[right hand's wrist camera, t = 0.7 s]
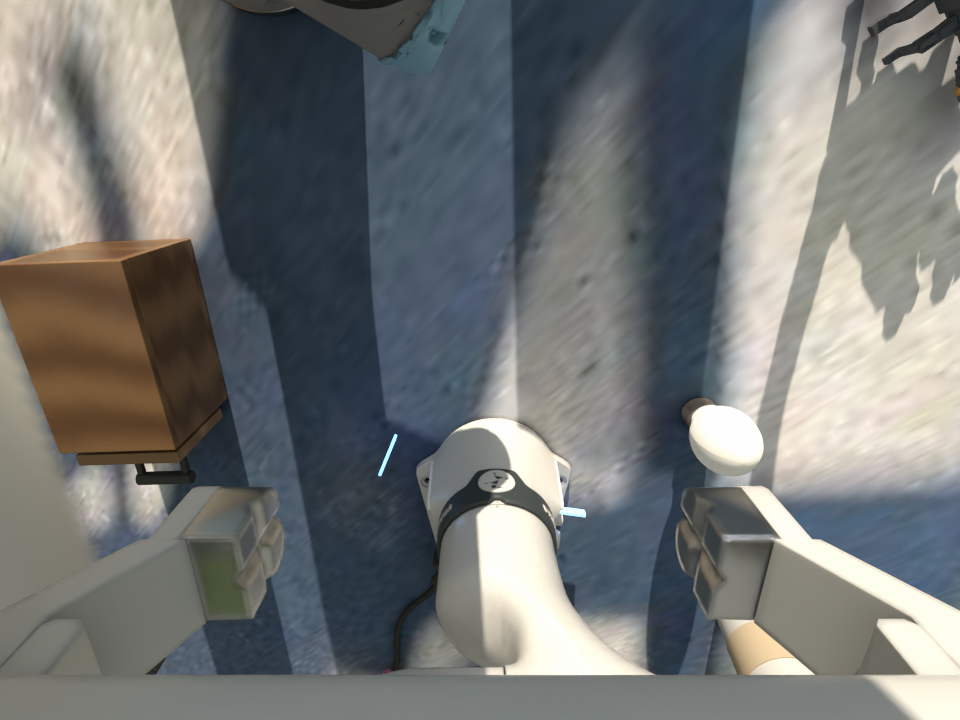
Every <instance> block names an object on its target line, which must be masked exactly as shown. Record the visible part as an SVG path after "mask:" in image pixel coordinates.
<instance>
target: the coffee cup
mask: <svg viewBox="0 0 960 720" xmlns="http://www.w3.org/2000/svg"><path fill="white" fill-rule="evenodd" d="M717 622H718V624H719V627H720V629H721V632H722V634H723V637H724V639H725V641H726V644H727V650H728V652H729V655H730V657H731V660H732V662H733V664H734V667H735V669H736V672H737V674H738V675H815V674H814V673H813V672H811V671H810V670H809V669H808V668H807V667H805V666H804V665H803V664H802V663H801V662H800V661H798V660H797V659H796V658H795V657H794V656H793V655H791V654H790V653H789V652H788V651H787V650H785V649H784V648H783V647H782V646H781V645H780V644H778V643H777V642H776V641H775V640H774V639H773V638H771V637H770V636H769V635H768V634H767V633H766V632H764V631H763V630H762V629H761V628H760V627H758V626H757V625H756V624H755V623H754V620H726V619H717Z"/></svg>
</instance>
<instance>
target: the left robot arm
mask: <svg viewBox="0 0 960 720" xmlns="http://www.w3.org/2000/svg"><path fill="white" fill-rule="evenodd" d="M223 1H225V2H227V3H228V4H230V5H232V6H234V7H236V8H238V9H240V10H243V11H246V12H249V13H253V14H257V15H265V16H278V15H285V14H289V13H293V12H295V11H298V10H300V11H302V12H304V13H305V14H307V15H309V16H310V17H312V18H314V19H315V20H317V21H319V22H320V23H322V24H324V25H325V26H327V27H329V28H330V29H332V30H334V31H335V32H337V33H338V34H340V35H342V36H343V37H345V38H347V39H348V40H350V41H352V42H353V43H355V44H357V45H358V46H360V47H362V48H363V49H365V50H367V51H368V52H370V53H372V54H373V55H375V56H377V57H378V60H379V61H381V62H382V63H383V64H385V65H393V66H396V67H398V68H399V69H401V70H403V71H405V72H407V73H409V74H412V75H415V76H421V75H425V74H427V73H429V72H430V71H431V70H432V69H433V68H434V67H435V65H436V63H437V61H438V59H439V56H440V54H441V52H442V50H443V47H444V45H445V43H446V41H447V39H448V37H449V34H450V32H451V31H452V28H453V26H454V24H455V22H456V20H457V18H458V16H459V13H460V11H461V9H462V7H463V5H464V3H465V1H466V0H223ZM165 659H166V657H165V658H164V659H163V660H162V661H161V662H159V663H158V664H157V665H156V666H155V667H153V668H152V669H151V670H150V671H149V672H148V673H146V674H145V675H156V673H157V672H158V670H159V668H160V667H161V665H162V663H163V662H164V660H165Z"/></svg>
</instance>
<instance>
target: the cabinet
mask: <svg viewBox="0 0 960 720" xmlns="http://www.w3.org/2000/svg"><path fill="white" fill-rule="evenodd" d="M0 299H1V302H2V305H3V307H4V310H5V312H6V315H7V318H8V320H9V323H10V325H11V328H12V331H13V333H14V336H15V338H16V341H17V344H18V346H19V349H20V351H21V354H22V356H23V359H24V362H25V364H26V367H27V369H28V372H29V375H30V377H31V380H32V382H33V385H34V388H35V390H36V393H37V395H38V398H39V401H40V403H41V406H42V408H43V411H44V413H45V416H46V419H47V421H48V424H49V426H50V429H51V432H52V434H53V437H54V439H55V442H56V445H57V447H58V450H59V452H60V453H88V452H120V451H153V450H175V449H176V448H177V447H178V446H179V445H181V444H182V443H183V442H184V441H185V440H186V439H187V438H188V437H189V436H190V435H191V434H192V433H193V432H194V431H195V430H196V429H197V428H198V427H199V426H200V425H201V424H202V423H203V422H204V421H205V420H206V419H207V418H208V417H209V416H210V415H211V414H212V413H213V412H214V411H215V410H216V409H217V408H218V407H219V406H220V405H221V404H222V403H223V402H224V401H225V400H226V399H227V398H228V396H227V392H226V388H225V383H224V379H223V375H222V371H221V367H220V362H219V358H218V354H217V350H216V346H215V341H214V337H213V333H212V329H211V324H210V320H209V316H208V312H207V308H206V303H205V299H204V295H203V291H202V286H201V282H200V278H199V274H198V270H197V265H196V261H195V257H194V253H193V249H192V244H191V240H190V239H168V240H140V241H112V242H85V243H79V244H75V245H70V246H66V247H62V248H58V249H54V250H49V251H45V252H41V253H37V254H32V255H28V256H24V257H20V258H15V259H11V260H7V261H3V262H0Z"/></svg>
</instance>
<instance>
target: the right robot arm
mask: <svg viewBox="0 0 960 720" xmlns="http://www.w3.org/2000/svg"><path fill="white" fill-rule="evenodd" d="M396 438H397V435H396V434H395V435H394V437H393V440H392V442H391V445H390V447H389V449H388V452H387V454H386V457H385V459H384V462H383V464H382V467H381V469H380V472H379V476H381V475H382V472H383V470H384V467H385V465H386V462H387V460H388V458H389V455H390V453H391V450H392V448H393V445H394V443H395V441H396ZM416 475H417V479H418V482H419V486H420V489H421V493H422V496H423V500H424V503H425V507H426V510H427V513H428V517H429V520H430V524H431V527H432V531H433V534H434V537H435V541H436V544H437V549H436V550H435V552H434V561H433V567H434V568H435V570H436V571H437V573H436V574H435V575H434V576H433V577H432V579H431V584H432V585H433V586H432V587H431V588H430V589H429V590H428V591H427V592H426V593H424V594H423V595H422V596H420V597H419V598H418V599H417V600H415V601H414V602H413V603H412V604H411V605H410V606H409V607H408V608H407V609H406V610H405V611H404V612H403V613H402V615H401V616H400V618H399V620H398V622H397V625H396V629H395V635H394V647H395V660H394V671H393V672H389V673H384V674H379V675H145V674H146V673H148V672H149V671H150V670H151V669H152V668H153V667H155V666H156V665H157V664H158V663H159V662H161V661H162V660H163V659H164V658H165V657H166V656H168V655H169V654H170V653H171V652H172V651H174V650H175V649H176V648H177V647H178V646H179V645H181V644H182V643H183V642H184V641H185V640H186V639H188V638H189V637H190V636H191V635H192V634H194V633H195V632H196V631H197V630H198V629H199V628H201V627H202V626H203V625H204V624H205V623H206V620H233V619H253V618H254V616H255V614H256V612H257V610H258V608H259V606H260V604H261V602H262V600H263V598H264V596H265V594H266V592H267V587H266V582H265V580H266V579H268V578H269V577H270V576H272V575H273V574H275V573H276V571H277V569H278V567H279V565H280V562H281V559H282V555H283V550H284V528H283V524H282V523H281V522H280V521H279V520H278V519H277V517H276V516H275V513H276V511H277V509H278V507H279V506H280V504H279V499H278V495H277V491H276V490H275V489H274V488H273V487H237V486H223V487H221V486H198V487H195V488H192V489H191V490H190V492H189V493H188V494H187V495H186V496H185V497H184V498H183V500H182V501H181V502H180V503H179V504H178V505H177V507H176V508H175V509H174V510H173V511H172V512H171V513H170V515H169V516H168V517H167V518H166V519H165V520H164V521H163V523H162V524H161V525H160V526H159V527H158V528H157V530H156V531H155V532H154V533H153V534H152V535H151V536H150V538H149V539H148V540H138V541H136V542H134V543H132V544H130V545H128V546H126V547H124V548H122V549H120V550H118V551H116V552H114V553H112V554H110V555H108V556H106V557H104V558H102V559H101V560H99V561H97V562H95V563H93V564H91V565H89V566H87V567H85V568H83V569H81V570H79V571H77V572H75V573H73V574H71V575H69V576H67V577H65V578H63V579H61V580H59V581H57V582H55V583H53V584H51V585H50V586H48V587H46V588H44V589H42V590H40V591H38V592H36V593H34V594H32V595H30V596H28V597H26V598H24V599H22V600H20V601H18V602H16V603H14V604H12V605H10V606H8V607H6V608H4V609H2V610H0V720H960V611H959V610H957V609H955V608H953V607H951V606H949V605H947V604H945V603H943V602H942V601H940V600H938V599H936V598H934V597H932V596H930V595H928V594H926V593H924V592H922V591H920V590H918V589H916V588H914V587H912V586H910V585H908V584H906V583H904V582H902V581H900V580H899V579H897V578H895V577H893V576H891V575H889V574H887V573H885V572H883V571H881V570H879V569H877V568H875V567H873V566H871V565H869V564H867V563H865V562H863V561H861V560H859V559H857V558H855V557H854V556H852V555H850V554H848V553H846V552H844V551H842V550H840V549H838V548H836V547H834V546H832V545H830V544H828V543H826V542H824V541H822V540H812V539H811V538H810V536H809V535H808V534H807V533H806V532H805V531H804V530H803V528H802V527H801V526H800V525H799V524H798V523H797V522H796V520H795V519H794V518H793V517H792V516H791V515H790V513H789V512H788V511H787V510H786V509H785V508H784V507H783V505H782V504H781V503H780V502H779V501H778V500H777V499H776V497H775V496H774V495H773V494H772V493H771V492H770V490H769V489H767V488H765V487H763V486H740V487H714V488H685V490H684V492H683V494H682V499H681V504H680V506H681V507H682V509H683V511H684V513H685V516H684V517H683V518H682V519H681V521H680V522H679V523H678V524H677V529H676V537H675V540H676V552H677V555H678V559H679V563H680V565H681V567H682V569H683V571H684V573H685V574H687V575H688V576H690V577H691V578H692V579H694V580H695V582H694V587H693V592H694V594H695V596H696V598H697V600H698V602H699V604H700V606H701V608H702V610H703V612H704V614H705V616H706V618H707V619H726V620H754V623H755V624H756V625H757V626H758V627H760V628H761V629H762V630H763V631H764V632H766V633H767V634H768V635H769V636H770V637H771V638H773V639H774V640H775V641H776V642H777V643H778V644H780V645H781V646H782V647H783V648H784V649H785V650H787V651H788V652H789V653H790V654H791V655H793V656H794V657H795V658H796V659H797V660H798V661H800V662H801V663H802V664H803V665H804V666H805V667H807V668H808V669H809V670H810V671H811V672H813V673H814V674H815V675H655V674H653V673H651V672H649V671H647V670H645V669H643V668H641V667H640V666H638V665H636V664H635V663H633V662H631V661H629V660H628V659H626V658H625V657H624V656H622V655H621V654H619V653H618V652H617V651H615V650H614V649H613V648H612V647H610V646H609V645H608V644H607V643H605V642H604V641H603V640H602V639H601V638H600V637H599V636H598V635H597V634H596V633H595V632H594V631H593V630H592V629H591V628H590V627H589V626H588V625H587V624H586V623H585V622H584V620H583V619H582V618H581V617H580V616H579V614H578V613H577V612H576V610H575V609H574V608H573V606H572V604H571V603H570V601H569V599H568V597H567V595H566V592H565V589H564V586H563V582H562V579H561V576H560V572H559V568H558V565H557V560H556V553H557V549H558V548H559V544H560V532H559V531H558V530H556V526H562V524H563V514H564V515H572V516H580V517H586V514H585V510H582V509H574V508H566V507H564V502H563V499H564V496H565V493H566V490H567V486H568V483H569V480H570V477H571V466H570V464H569V463H568V462H567V461H565V460H564V459H562V458H561V457H559V456H557V455H556V454H554V453H552V452H551V450H550V449H549V448H548V447H547V445H546V444H545V442H544V441H543V440H542V439H541V437H540V436H539V435H538V434H536V433H535V432H534V431H533V430H531V429H530V428H528V427H527V426H525V425H523V424H521V423H518V422H515V421H512V420H507V419H500V418H488V419H481V420H477V421H473V422H470V423H468V424H466V425H463V426H462V427H460V428H458V429H457V430H455V431H454V432H453V433H452V434H450V435H449V436H448V437H447V438H446V440H445V441H444V442H443V443H442V445H441V446H440V448H439V449H438V450H437V451H436V452H435V453H434V454H433V455H431V456H429V457H427V458H426V459H424V460H423V461H421V462H420V463H419V464H418V465H417V468H416ZM426 478H429V481H428V480H426ZM560 478H562V479H560ZM437 580H438V581H437ZM436 590H437V592H436V612H437V617H438V620H439V623H440V625H441V627H442V629H443V631H444V633H445V634H446V636H447V638H448V639H449V640H450V642H451V643H452V645H453V646H454V647H455V648H456V649H457V651H458V652H459V653H460V654H462V655H463V656H464V657H465V658H467V659H468V660H470V661H471V662H473V663H475V664H476V665H478V666H480V667H463V668H407V669H403V670H399V660H400V643H399V637H400V629H401V626H402V624H403V622H404V620H405V618H406V617H407V616H408V614H409V613H410V612H411V611H412V610H413V609H414V608H415V607H417V606H418V605H419V604H420V603H422V602H423V601H424V600H425V599H427V598H428V597H429V596H430V595H432V594H433V593H434V592H435V591H436Z"/></svg>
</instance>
